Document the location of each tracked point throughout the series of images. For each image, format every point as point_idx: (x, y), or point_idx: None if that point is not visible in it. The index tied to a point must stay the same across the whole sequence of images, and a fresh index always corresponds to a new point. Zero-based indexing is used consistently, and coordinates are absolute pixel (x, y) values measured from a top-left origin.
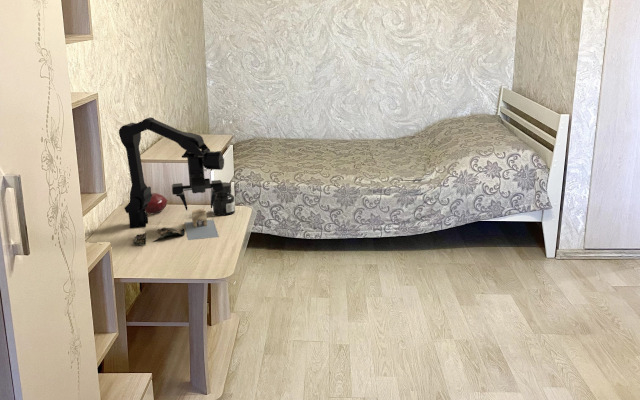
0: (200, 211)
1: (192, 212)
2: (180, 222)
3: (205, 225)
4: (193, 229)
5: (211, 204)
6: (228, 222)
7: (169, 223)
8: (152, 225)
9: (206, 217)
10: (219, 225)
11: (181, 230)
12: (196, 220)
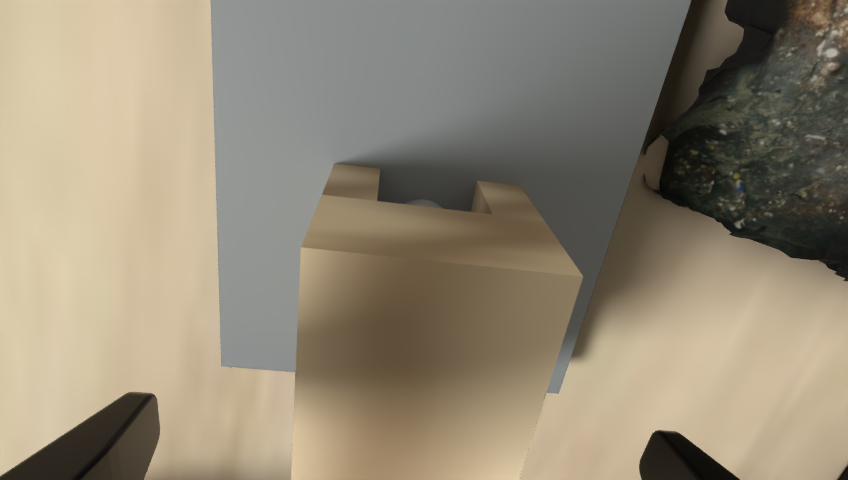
0: (393, 389)
1: (545, 385)
2: (550, 465)
3: (357, 166)
4: (556, 81)
5: (84, 454)
6: (54, 301)
7: None
8: (791, 473)
9: (316, 210)
10: (171, 241)
11: (770, 31)
12: (494, 214)
